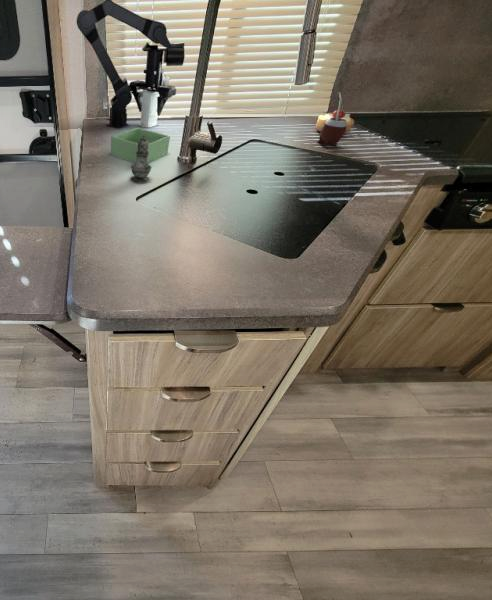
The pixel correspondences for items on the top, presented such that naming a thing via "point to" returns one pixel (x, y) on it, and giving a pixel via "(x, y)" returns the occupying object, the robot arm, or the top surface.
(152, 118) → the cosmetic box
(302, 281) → the top surface
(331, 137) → the mate gourd
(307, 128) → the top surface
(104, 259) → the top surface
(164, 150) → the green open box
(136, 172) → the grey tall ornate piece
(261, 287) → the top surface
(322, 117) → the pastry
